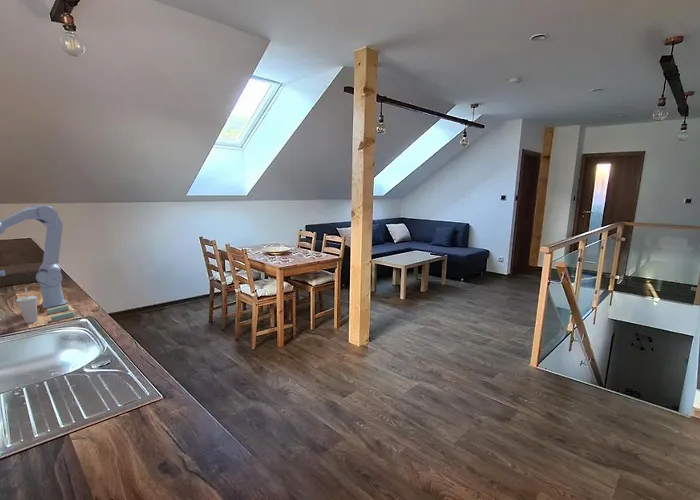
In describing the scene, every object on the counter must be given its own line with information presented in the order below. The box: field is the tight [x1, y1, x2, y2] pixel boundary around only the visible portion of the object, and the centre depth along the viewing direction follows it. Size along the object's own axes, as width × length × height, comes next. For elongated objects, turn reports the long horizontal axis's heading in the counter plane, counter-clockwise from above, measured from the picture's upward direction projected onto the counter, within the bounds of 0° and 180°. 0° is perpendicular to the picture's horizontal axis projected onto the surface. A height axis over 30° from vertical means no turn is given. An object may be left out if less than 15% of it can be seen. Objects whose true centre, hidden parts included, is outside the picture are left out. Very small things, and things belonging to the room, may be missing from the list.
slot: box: [46, 304, 75, 322], centre depth 153 cm, size 13×7×2 cm, turn 45°
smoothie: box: [15, 287, 38, 324], centre depth 145 cm, size 6×6×14 cm
